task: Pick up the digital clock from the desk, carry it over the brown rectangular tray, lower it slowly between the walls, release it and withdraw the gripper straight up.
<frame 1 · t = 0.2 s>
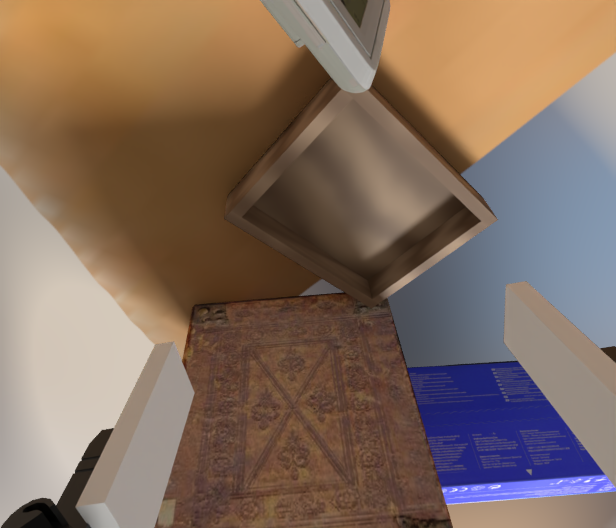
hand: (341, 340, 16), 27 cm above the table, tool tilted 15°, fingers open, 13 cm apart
brown rectangular tray: (358, 196, 43), on the table
toner cartridge box: (474, 373, 70), on the table
book: (292, 317, 56), on the table
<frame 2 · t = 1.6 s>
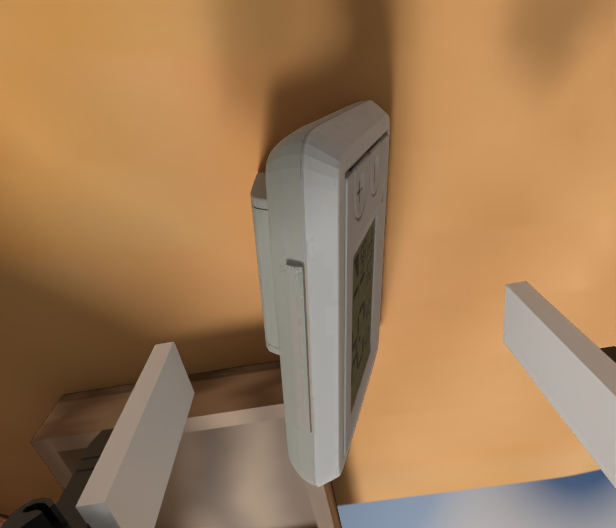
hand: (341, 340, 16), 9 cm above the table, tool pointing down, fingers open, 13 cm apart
digital clock: (332, 240, 24), on the table
brown rectangular tray: (221, 474, 33), on the table
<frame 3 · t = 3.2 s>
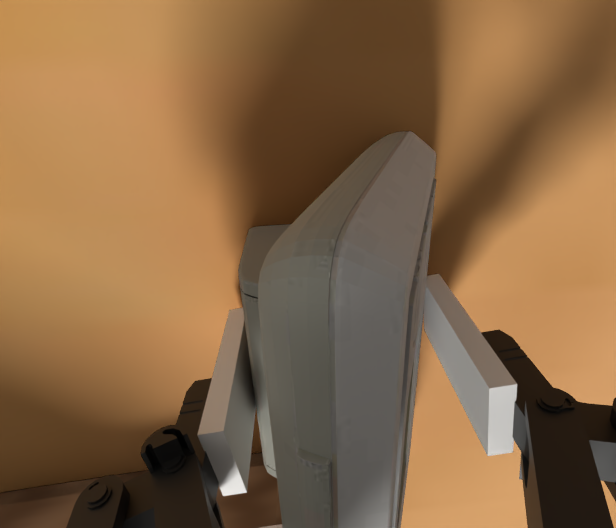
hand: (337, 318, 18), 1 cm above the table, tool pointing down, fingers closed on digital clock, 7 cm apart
digital clock: (350, 309, 18), on the table, touching gripper
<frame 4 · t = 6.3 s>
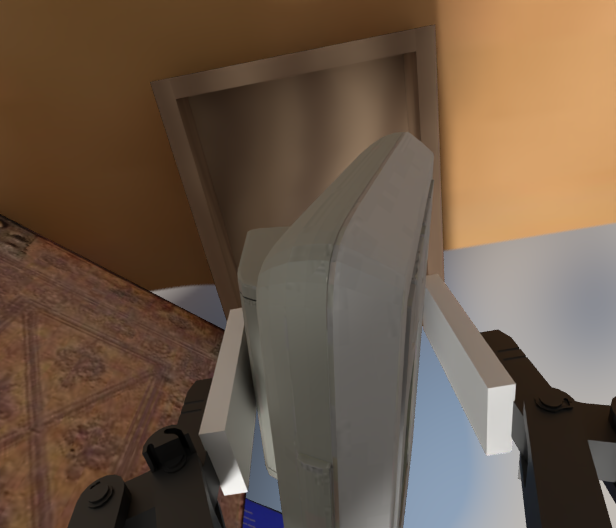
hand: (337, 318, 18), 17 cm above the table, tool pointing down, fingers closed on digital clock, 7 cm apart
digital clock: (350, 310, 18), point 16 cm above the table, touching gripper
brown rectangular tray: (316, 202, 33), on the table
book: (117, 319, 37), on the table
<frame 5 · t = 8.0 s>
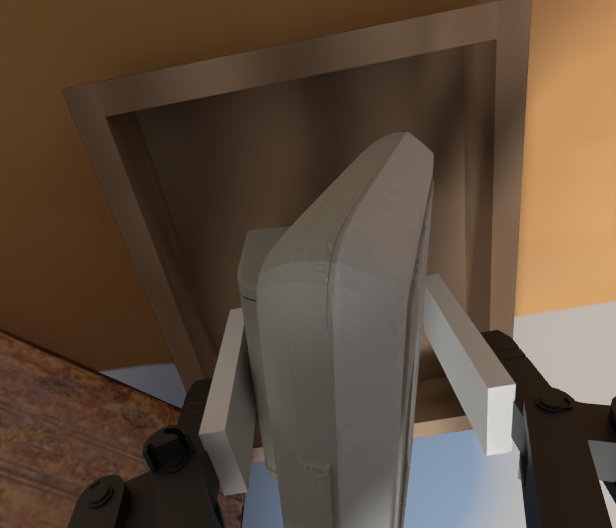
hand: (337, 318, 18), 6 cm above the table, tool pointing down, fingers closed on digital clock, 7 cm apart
digital clock: (350, 311, 18), point 5 cm above the table, touching gripper
brown rectangular tray: (327, 257, 23), on the table
book: (57, 405, 27), on the table
when the fingers open (4 cm above the table, at t = 9.3 s): digital clock drops 2 cm, resting on brown rectangular tray.
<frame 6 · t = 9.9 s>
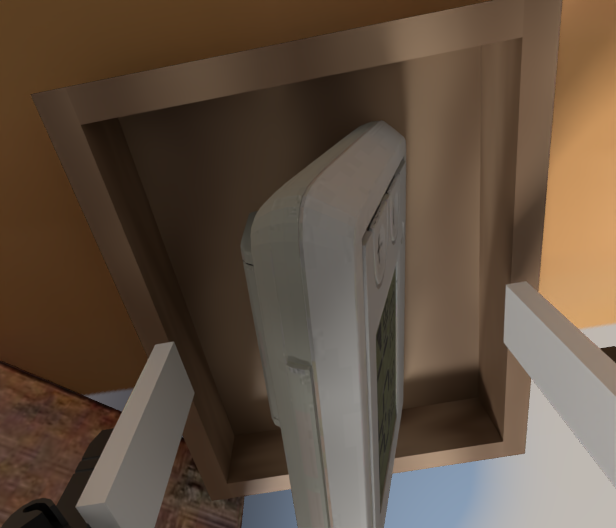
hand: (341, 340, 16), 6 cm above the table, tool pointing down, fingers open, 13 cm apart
digital clock: (343, 283, 21), point 1 cm above the table, touching brown rectangular tray
brown rectangular tray: (329, 274, 21), on the table
book: (40, 430, 26), on the table
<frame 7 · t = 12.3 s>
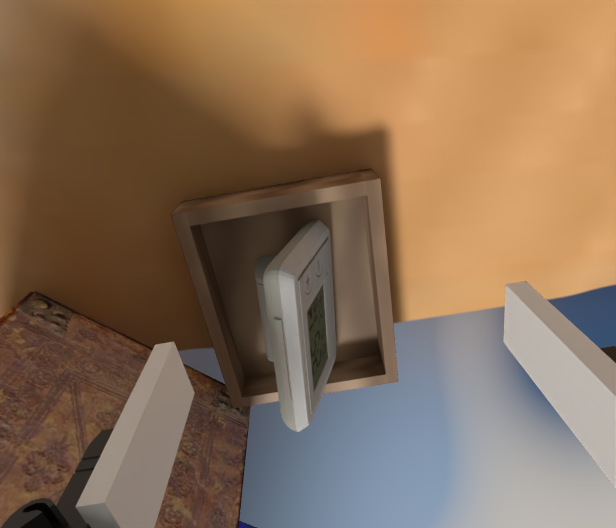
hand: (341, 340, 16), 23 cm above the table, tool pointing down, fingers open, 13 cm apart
digital clock: (304, 292, 41), point 1 cm above the table, touching brown rectangular tray
brown rectangular tray: (296, 287, 41), on the table
book: (133, 374, 45), on the table
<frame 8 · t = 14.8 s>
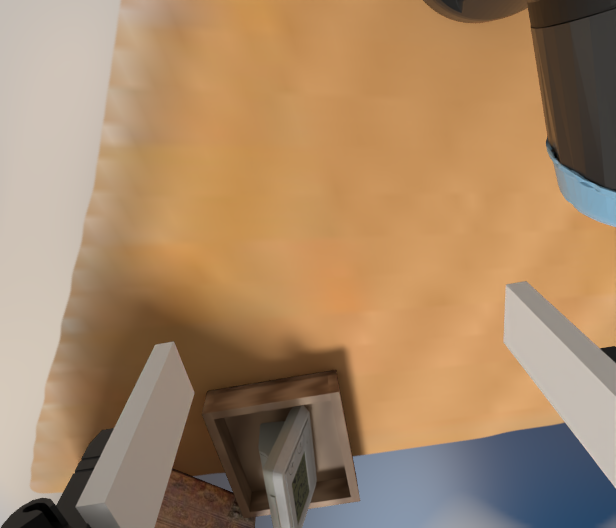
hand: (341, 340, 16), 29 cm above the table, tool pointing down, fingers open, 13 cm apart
digital clock: (293, 441, 58), point 1 cm above the table, touching brown rectangular tray
brown rectangular tray: (287, 436, 59), on the table
book: (172, 488, 63), on the table
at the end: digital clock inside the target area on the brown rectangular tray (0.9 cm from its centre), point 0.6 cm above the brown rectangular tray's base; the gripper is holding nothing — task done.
